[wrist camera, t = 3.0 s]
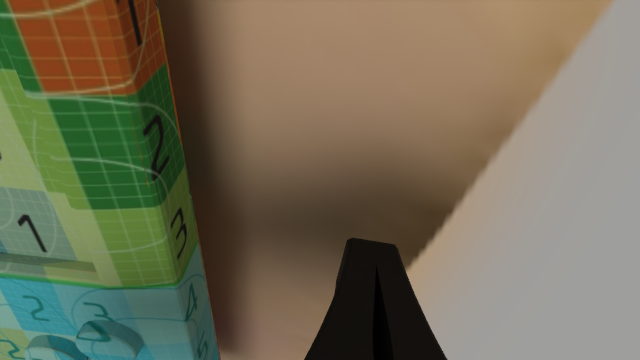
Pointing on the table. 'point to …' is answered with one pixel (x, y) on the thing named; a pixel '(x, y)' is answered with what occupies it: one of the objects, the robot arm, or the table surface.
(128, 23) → the puzzle game
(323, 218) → the table surface
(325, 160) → the table surface
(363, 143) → the table surface
